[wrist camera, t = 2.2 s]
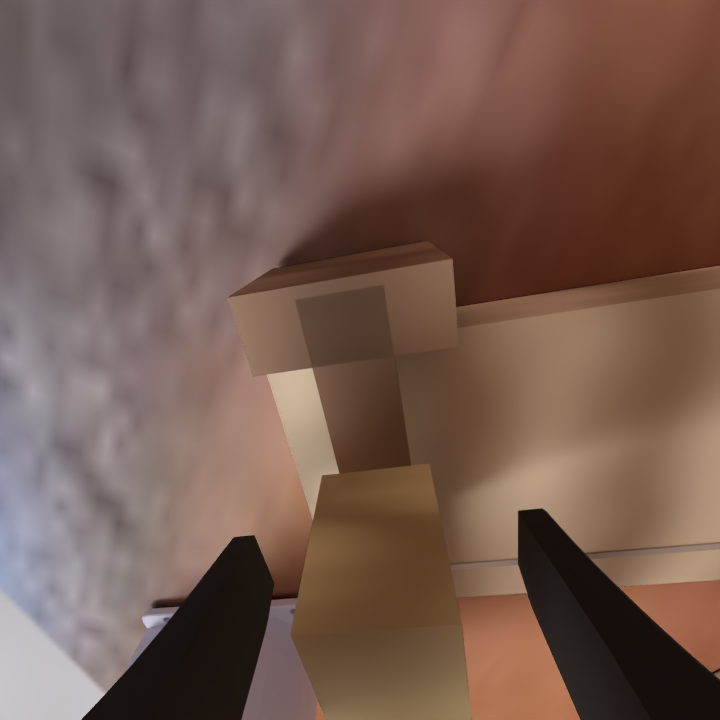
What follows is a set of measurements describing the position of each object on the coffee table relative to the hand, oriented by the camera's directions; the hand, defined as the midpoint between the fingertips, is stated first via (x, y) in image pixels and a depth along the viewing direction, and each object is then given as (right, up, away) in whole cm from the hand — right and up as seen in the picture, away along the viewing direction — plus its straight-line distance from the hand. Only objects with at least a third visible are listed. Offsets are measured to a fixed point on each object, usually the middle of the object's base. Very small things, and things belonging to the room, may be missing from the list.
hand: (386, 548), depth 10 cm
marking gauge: (0, +2, +4) cm, 5 cm away
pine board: (+8, +2, +4) cm, 9 cm away
